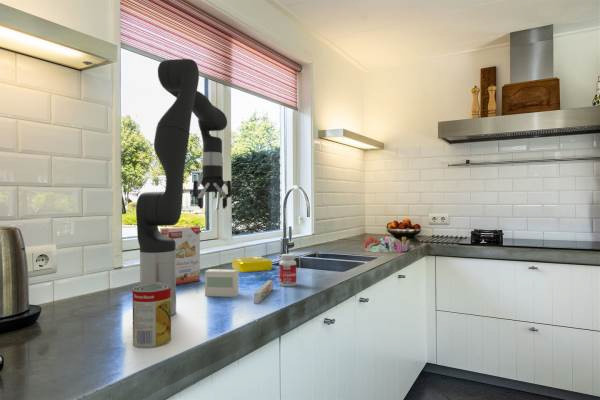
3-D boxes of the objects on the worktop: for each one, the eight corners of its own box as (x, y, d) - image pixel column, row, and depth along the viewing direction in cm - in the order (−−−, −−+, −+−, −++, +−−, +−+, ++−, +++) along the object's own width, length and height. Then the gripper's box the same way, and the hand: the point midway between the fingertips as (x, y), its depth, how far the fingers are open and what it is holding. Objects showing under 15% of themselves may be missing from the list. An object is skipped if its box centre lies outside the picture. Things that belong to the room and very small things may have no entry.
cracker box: (169, 286, 149) (168, 228, 149) (159, 284, 153) (159, 227, 153) (201, 280, 160) (200, 226, 160) (191, 278, 163) (190, 225, 163)
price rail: (261, 303, 123) (261, 293, 123) (254, 303, 124) (254, 293, 124) (274, 289, 143) (274, 280, 143) (268, 288, 144) (268, 280, 144)
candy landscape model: (385, 247, 263) (385, 233, 263) (416, 251, 245) (416, 235, 245) (358, 251, 248) (358, 235, 248) (389, 255, 229) (389, 238, 229)
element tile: (231, 268, 190) (230, 257, 190) (262, 265, 196) (261, 255, 196) (240, 273, 176) (240, 262, 176) (273, 270, 183) (273, 259, 183)
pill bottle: (281, 287, 146) (281, 256, 146) (277, 284, 152) (277, 253, 152) (298, 286, 148) (298, 255, 148) (293, 282, 154) (293, 253, 154)
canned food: (175, 335, 95) (174, 283, 95) (165, 347, 87) (164, 290, 87) (140, 336, 95) (139, 283, 95) (127, 348, 87) (126, 291, 87)
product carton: (235, 296, 133) (234, 271, 133) (204, 296, 134) (204, 271, 134) (238, 293, 137) (238, 269, 137) (209, 293, 138) (209, 269, 138)
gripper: (190, 164, 152) (191, 208, 151) (229, 164, 152) (230, 208, 151) (196, 166, 159) (196, 208, 159) (233, 166, 159) (233, 208, 159)
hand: (212, 208), depth 155 cm, fingers open, 8 cm apart
